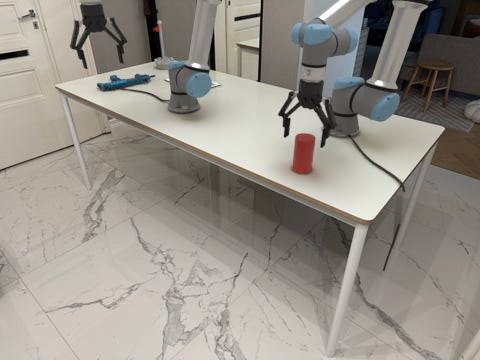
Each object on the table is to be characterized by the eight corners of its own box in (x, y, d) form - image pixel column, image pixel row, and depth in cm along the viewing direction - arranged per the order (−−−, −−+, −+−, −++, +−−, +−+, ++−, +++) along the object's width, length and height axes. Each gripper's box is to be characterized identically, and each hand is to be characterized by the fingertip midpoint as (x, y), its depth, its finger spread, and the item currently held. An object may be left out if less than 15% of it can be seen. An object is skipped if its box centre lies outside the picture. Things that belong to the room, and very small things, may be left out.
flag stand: (172, 63, 245) (167, 18, 229) (176, 68, 235) (171, 21, 219) (154, 65, 241) (147, 19, 225) (157, 70, 231) (150, 22, 215)
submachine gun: (141, 68, 225) (159, 74, 208) (142, 74, 227) (160, 80, 210) (89, 78, 206) (104, 86, 190) (91, 84, 208) (106, 92, 192)
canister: (306, 163, 126) (310, 132, 119) (314, 172, 121) (318, 140, 114) (289, 165, 125) (292, 134, 118) (296, 174, 119) (299, 142, 112)
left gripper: (54, 6, 110) (72, 73, 121) (129, 2, 122) (139, 62, 133) (49, 4, 115) (67, 68, 127) (122, 0, 127) (132, 58, 138)
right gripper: (270, 75, 108) (267, 135, 120) (347, 89, 96) (334, 155, 108) (282, 70, 113) (277, 128, 125) (355, 83, 102) (342, 146, 113)
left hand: (104, 65), depth 130 cm, fingers open, 13 cm apart
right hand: (303, 141), depth 116 cm, fingers open, 13 cm apart
